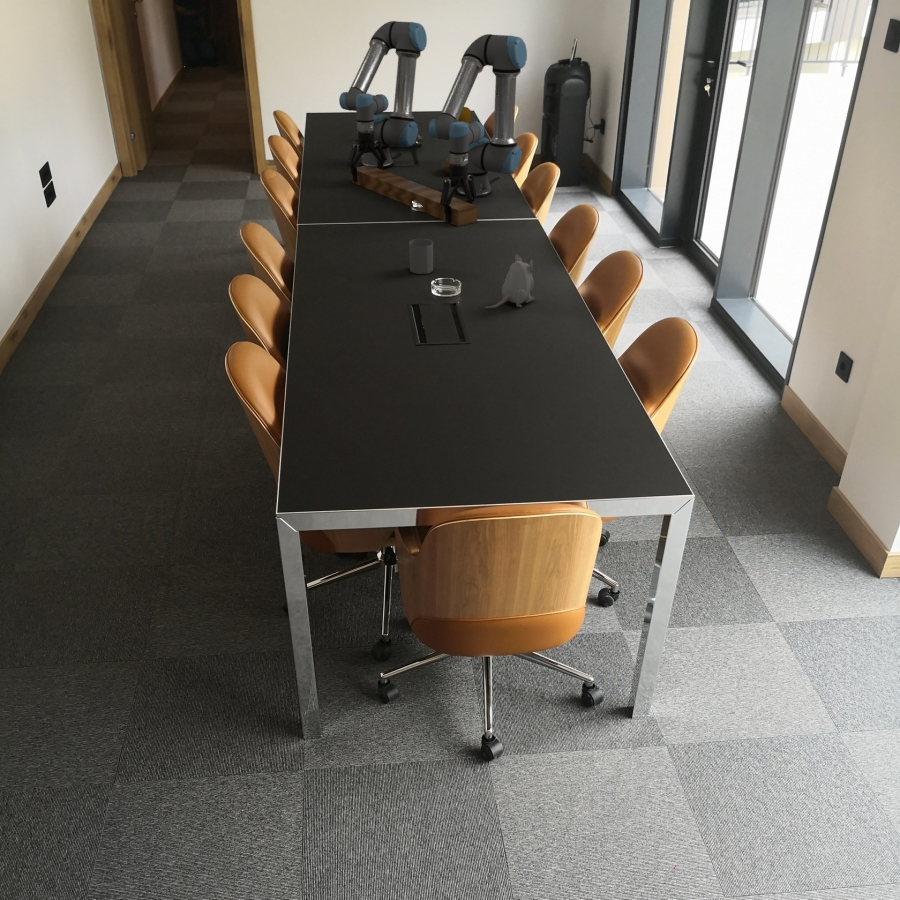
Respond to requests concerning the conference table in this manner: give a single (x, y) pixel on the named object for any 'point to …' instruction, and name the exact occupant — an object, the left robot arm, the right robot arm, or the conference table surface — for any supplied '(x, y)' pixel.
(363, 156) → the left robot arm
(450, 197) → the right robot arm
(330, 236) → the conference table surface
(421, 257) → the cup
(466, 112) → the yellow bell pepper
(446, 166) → the potato
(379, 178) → the wide beam
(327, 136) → the conference table surface
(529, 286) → the toy
